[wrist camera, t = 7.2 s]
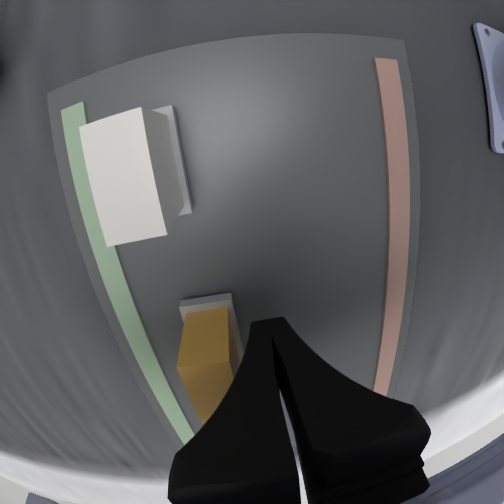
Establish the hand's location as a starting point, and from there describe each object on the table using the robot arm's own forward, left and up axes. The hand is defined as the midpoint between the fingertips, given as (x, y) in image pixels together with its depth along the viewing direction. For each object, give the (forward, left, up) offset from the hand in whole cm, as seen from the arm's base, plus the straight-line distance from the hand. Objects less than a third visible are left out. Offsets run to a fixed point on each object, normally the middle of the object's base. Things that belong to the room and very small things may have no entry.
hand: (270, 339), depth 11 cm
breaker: (+3, -7, -1) cm, 8 cm away
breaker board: (0, 0, -3) cm, 3 cm away
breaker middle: (+2, 0, -1) cm, 2 cm away
